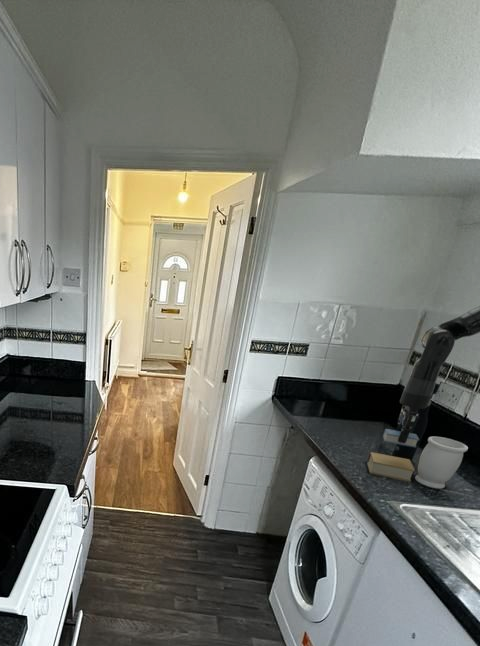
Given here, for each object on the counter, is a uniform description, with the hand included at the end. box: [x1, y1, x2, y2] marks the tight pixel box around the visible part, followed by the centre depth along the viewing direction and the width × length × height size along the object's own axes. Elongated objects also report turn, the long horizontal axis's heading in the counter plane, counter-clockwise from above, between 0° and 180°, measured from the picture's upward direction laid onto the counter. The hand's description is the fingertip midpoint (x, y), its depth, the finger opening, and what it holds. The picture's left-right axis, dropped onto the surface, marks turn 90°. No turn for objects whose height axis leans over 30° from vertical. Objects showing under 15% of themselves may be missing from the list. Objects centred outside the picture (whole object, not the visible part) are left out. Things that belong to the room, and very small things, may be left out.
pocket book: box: [382, 428, 419, 448], centre depth 141 cm, size 9×6×3 cm, turn 63°
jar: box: [414, 435, 469, 489], centre depth 137 cm, size 11×10×15 cm
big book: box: [366, 451, 416, 483], centre depth 145 cm, size 12×10×4 cm
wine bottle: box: [391, 382, 441, 463], centre depth 150 cm, size 6×6×30 cm
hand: (399, 439), depth 141 cm, fingers closed on pocket book, 5 cm apart
